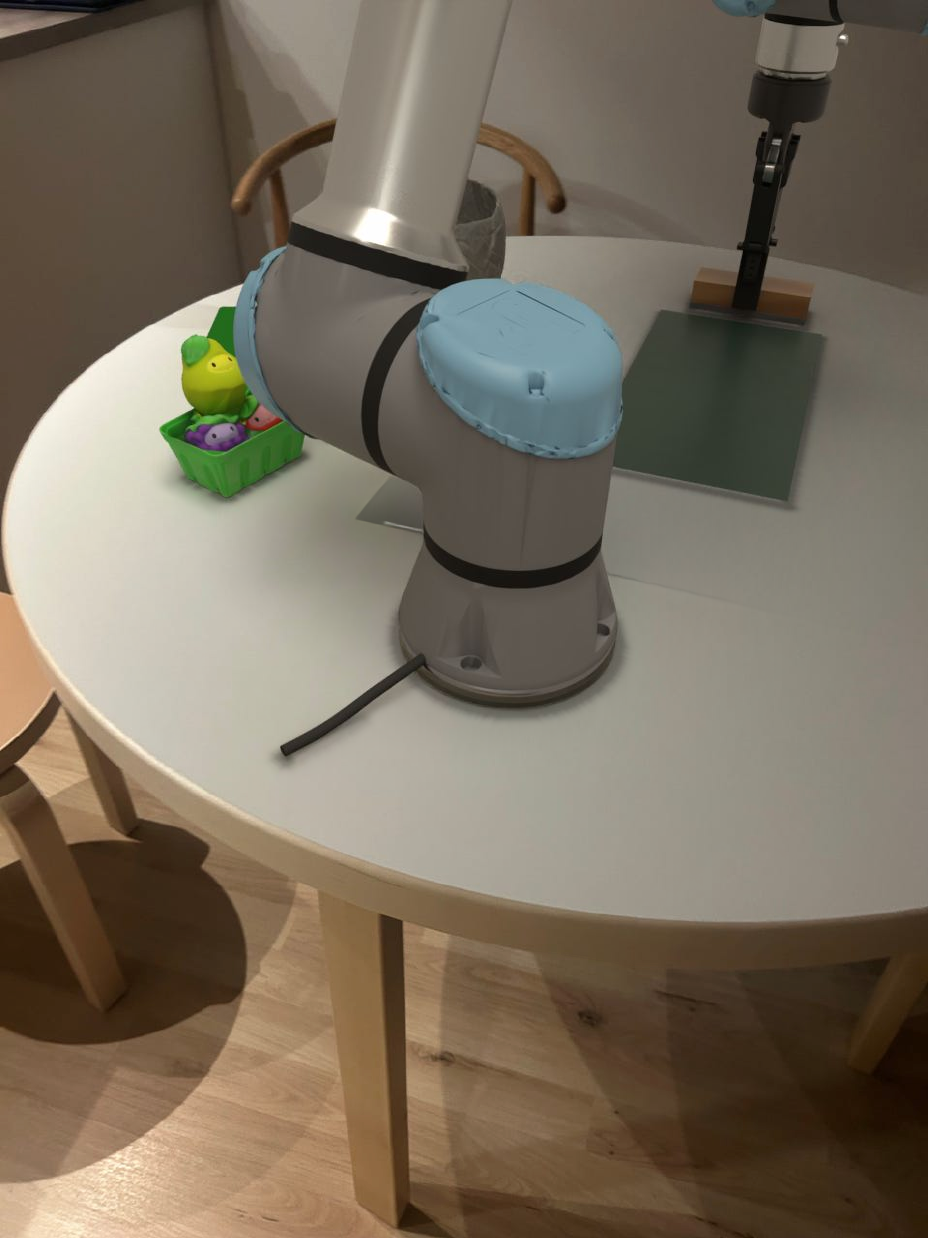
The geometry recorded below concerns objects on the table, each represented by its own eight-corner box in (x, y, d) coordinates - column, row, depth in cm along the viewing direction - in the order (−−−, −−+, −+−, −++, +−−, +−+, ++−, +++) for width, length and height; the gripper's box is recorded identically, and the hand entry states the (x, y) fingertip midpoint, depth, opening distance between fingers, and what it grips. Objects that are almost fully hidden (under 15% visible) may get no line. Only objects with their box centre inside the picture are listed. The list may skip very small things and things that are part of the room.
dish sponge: (198, 383, 96) (194, 361, 95) (223, 326, 107) (220, 305, 105) (269, 384, 96) (267, 361, 95) (287, 326, 107) (285, 305, 105)
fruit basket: (226, 511, 79) (203, 385, 72) (156, 475, 83) (128, 352, 76) (322, 455, 86) (310, 335, 79) (253, 424, 90) (236, 308, 83)
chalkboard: (786, 506, 81) (787, 501, 81) (580, 464, 85) (580, 459, 85) (820, 338, 107) (822, 333, 106) (660, 313, 111) (661, 309, 111)
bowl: (307, 376, 98) (292, 225, 88) (323, 297, 113) (311, 161, 104) (507, 375, 99) (514, 225, 89) (496, 297, 114) (501, 162, 104)
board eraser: (803, 327, 108) (811, 297, 106) (688, 310, 112) (694, 280, 109) (807, 312, 112) (814, 282, 110) (696, 296, 115) (701, 266, 113)
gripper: (828, 88, 88) (771, 334, 103) (838, 61, 97) (784, 290, 112) (745, 80, 89) (701, 323, 105) (763, 55, 99) (720, 281, 114)
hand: (744, 306), depth 108 cm, fingers closed
